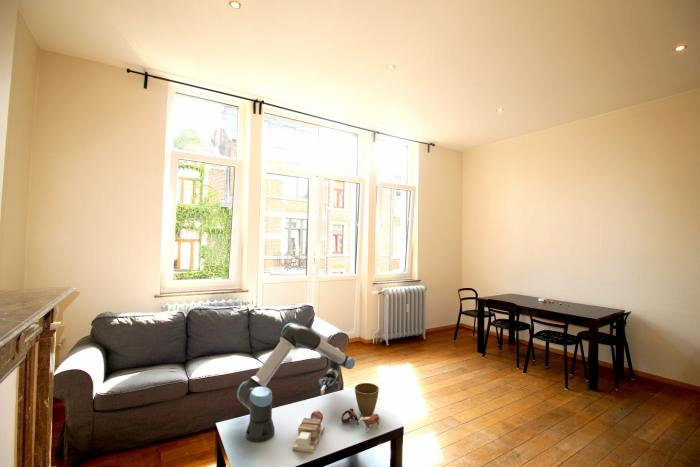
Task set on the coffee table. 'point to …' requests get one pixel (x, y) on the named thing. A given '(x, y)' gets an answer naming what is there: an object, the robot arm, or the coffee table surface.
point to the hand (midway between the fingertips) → (321, 392)
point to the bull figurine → (369, 421)
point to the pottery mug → (351, 416)
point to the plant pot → (366, 398)
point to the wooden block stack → (316, 416)
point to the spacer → (304, 440)
